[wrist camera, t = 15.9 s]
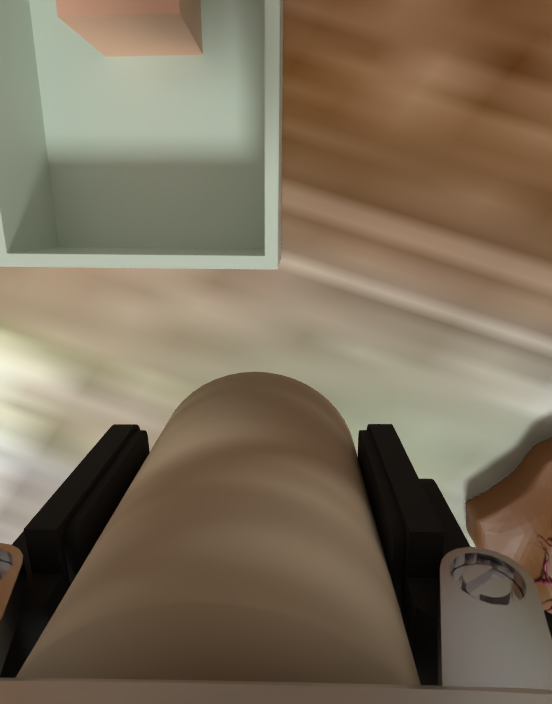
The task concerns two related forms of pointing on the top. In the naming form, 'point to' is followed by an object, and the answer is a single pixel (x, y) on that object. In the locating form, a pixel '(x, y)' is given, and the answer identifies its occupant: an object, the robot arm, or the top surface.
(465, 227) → the top surface
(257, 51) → the sage tote
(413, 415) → the top surface
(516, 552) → the plant
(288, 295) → the top surface
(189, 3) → the terracotta cube
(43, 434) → the top surface
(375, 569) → the birch cylinder
